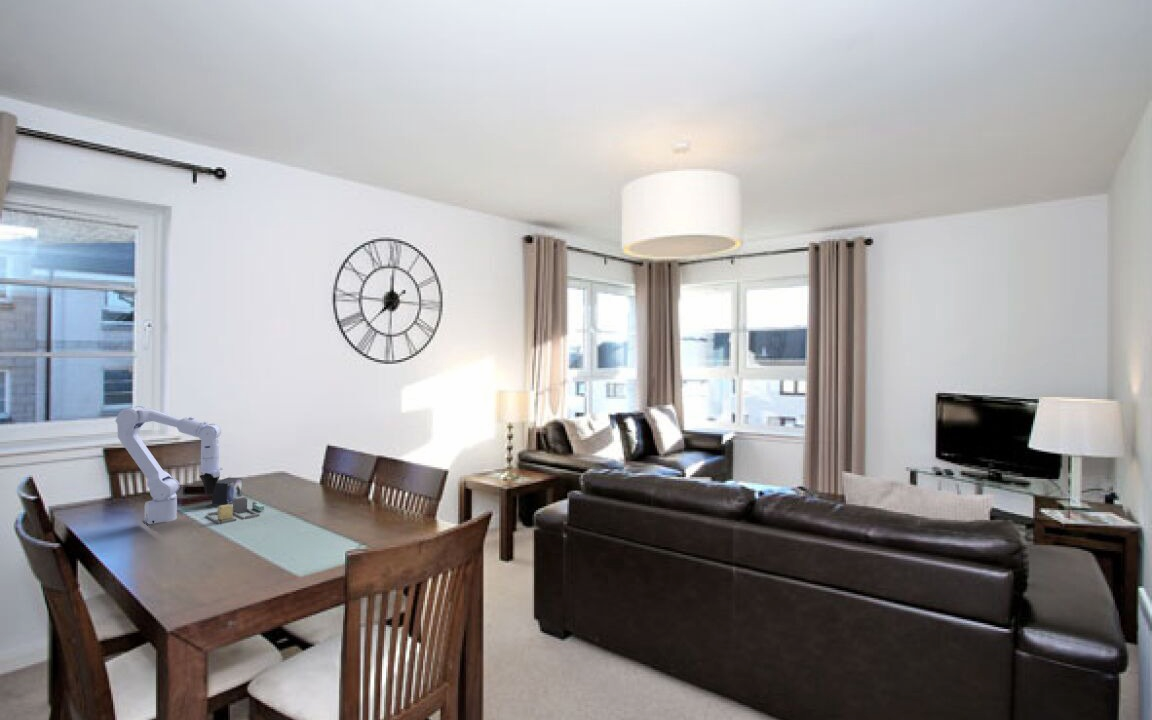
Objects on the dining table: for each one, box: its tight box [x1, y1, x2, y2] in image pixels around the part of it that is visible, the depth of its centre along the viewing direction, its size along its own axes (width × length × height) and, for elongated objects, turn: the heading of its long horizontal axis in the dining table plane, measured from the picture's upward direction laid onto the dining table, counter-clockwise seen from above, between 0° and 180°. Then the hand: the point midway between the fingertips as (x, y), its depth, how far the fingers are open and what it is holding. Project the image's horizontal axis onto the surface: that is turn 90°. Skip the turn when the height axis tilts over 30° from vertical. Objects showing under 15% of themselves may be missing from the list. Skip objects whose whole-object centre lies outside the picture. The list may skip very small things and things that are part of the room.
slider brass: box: [216, 504, 234, 522], centre depth 212 cm, size 4×3×6 cm
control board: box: [205, 507, 261, 525], centre depth 219 cm, size 22×16×2 cm
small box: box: [211, 476, 243, 507], centre depth 238 cm, size 11×6×10 cm, turn 179°
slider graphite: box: [232, 495, 248, 514], centre depth 224 cm, size 4×3×6 cm
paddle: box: [251, 501, 265, 512], centre depth 226 cm, size 2×7×3 cm, turn 49°
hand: (209, 493), depth 217 cm, fingers closed
